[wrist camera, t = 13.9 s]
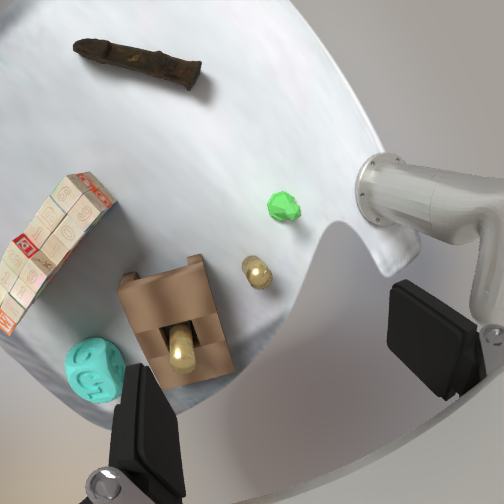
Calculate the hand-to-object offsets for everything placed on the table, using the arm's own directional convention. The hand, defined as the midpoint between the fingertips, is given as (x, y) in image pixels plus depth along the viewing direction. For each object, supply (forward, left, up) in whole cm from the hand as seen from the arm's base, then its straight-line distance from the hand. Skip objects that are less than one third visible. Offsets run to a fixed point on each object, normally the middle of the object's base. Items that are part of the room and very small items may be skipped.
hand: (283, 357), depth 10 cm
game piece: (-11, +3, -34) cm, 35 cm away
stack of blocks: (+22, -1, -34) cm, 40 cm away
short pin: (-5, +11, -33) cm, 35 cm away
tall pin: (+8, +16, -33) cm, 38 cm away
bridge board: (+8, +16, -33) cm, 38 cm away
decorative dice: (+24, +20, -34) cm, 46 cm away
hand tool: (+6, -22, -34) cm, 41 cm away
